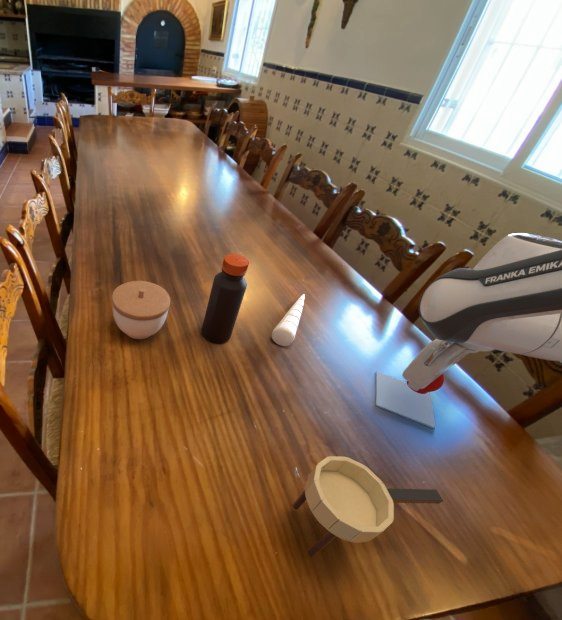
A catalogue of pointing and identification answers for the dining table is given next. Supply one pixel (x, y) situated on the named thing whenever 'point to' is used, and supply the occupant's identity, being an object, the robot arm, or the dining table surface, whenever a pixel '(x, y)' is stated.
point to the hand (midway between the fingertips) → (422, 380)
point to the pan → (353, 501)
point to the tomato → (431, 385)
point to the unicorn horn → (288, 324)
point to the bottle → (225, 299)
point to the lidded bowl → (140, 308)
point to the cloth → (403, 400)
